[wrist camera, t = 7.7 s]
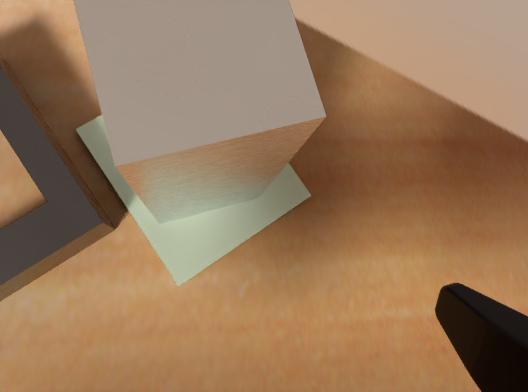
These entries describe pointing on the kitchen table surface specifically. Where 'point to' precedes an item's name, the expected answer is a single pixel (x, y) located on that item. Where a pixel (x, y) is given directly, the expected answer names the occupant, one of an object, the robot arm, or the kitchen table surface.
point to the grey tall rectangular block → (199, 97)
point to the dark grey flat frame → (52, 188)
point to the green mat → (201, 225)
